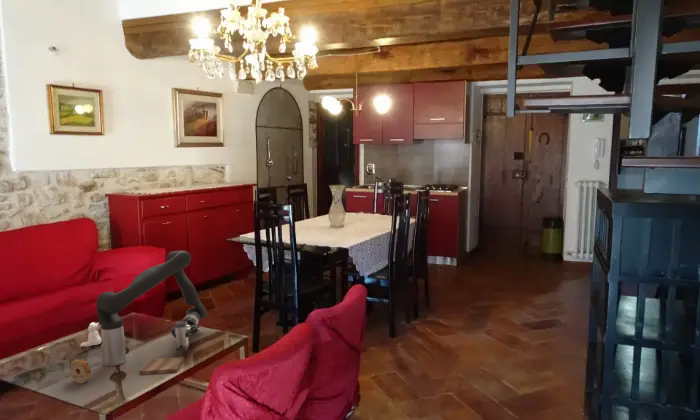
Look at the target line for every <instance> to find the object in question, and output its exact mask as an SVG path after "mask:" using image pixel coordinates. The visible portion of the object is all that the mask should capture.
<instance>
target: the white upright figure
mask: <svg viewBox="0 0 700 420" xmlns="http://www.w3.org/2000/svg"><path fill="white" fill-rule="evenodd" d="M99 324H100V323H99V322H95V321H94V322H91V323H89V326H88V327H87V331H88V333H87V334H88V335H87V341H84V342H82V343H80V347H81V346H92V345H98V344H101V343H103V342H102V337H101V336H100V334H99V332H98V330H97V329H98V326H99ZM98 346H99V345H98Z"/></svg>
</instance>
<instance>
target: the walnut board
mask: <svg viewBox="0 0 700 420" xmlns="http://www.w3.org/2000/svg"><path fill="white" fill-rule="evenodd" d="M184 362H185V357H184V356H180V357H178V356H177V357H164V358H149V359H147V361H146V362H145V363H144V365H143V366H142V368H140V370H139V375H141V376H142V375H151V374H152V375H153V374H169V373H170V374H171V373H177V372H179V369H180V368H181V366H182V365H183V363H184Z"/></svg>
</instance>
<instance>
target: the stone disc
mask: <svg viewBox="0 0 700 420" xmlns="http://www.w3.org/2000/svg"><path fill="white" fill-rule="evenodd" d="M69 375H70V377H71V378H72V380H73V381H74V382H76V383H78V384H85V383H86V382H88V381H89V380H90V379H91V377H92V371H91V367H90V364H89V362H88V361H86V360H85V359H82V358H77V359H75V360H73V361H71V363H70V371H69Z"/></svg>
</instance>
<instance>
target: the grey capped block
mask: <svg viewBox="0 0 700 420" xmlns="http://www.w3.org/2000/svg"><path fill="white" fill-rule="evenodd" d="M174 327H175V332H176V338H175V352H186V351H187V349H188V348H189V347H190V342H189V336H188V337H186V335H185V334H186V332H187V331H188V326H187V321H182V320H177V321H176V322H175V324H174Z"/></svg>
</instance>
